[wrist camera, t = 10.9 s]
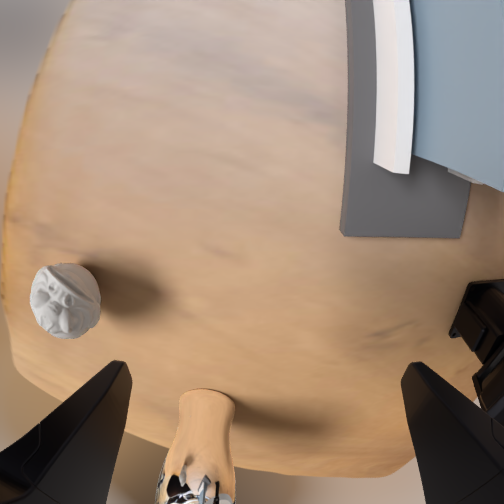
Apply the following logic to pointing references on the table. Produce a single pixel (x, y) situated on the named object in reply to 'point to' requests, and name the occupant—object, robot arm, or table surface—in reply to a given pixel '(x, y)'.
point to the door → (460, 86)
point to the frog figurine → (65, 300)
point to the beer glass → (200, 452)
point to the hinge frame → (391, 136)
